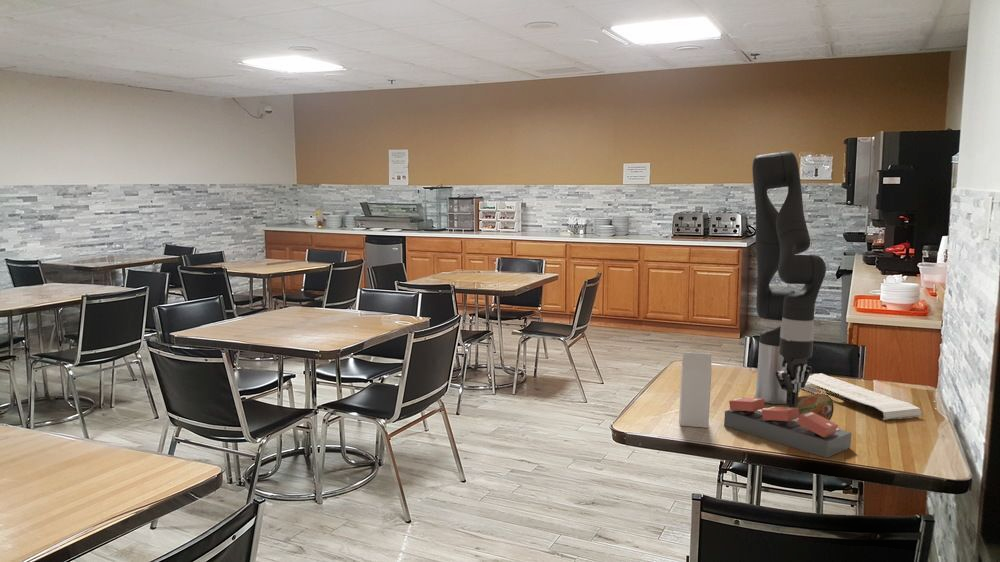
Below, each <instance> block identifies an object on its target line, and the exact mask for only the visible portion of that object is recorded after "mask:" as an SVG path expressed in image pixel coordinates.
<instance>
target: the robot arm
mask: <svg viewBox="0 0 1000 562" xmlns="http://www.w3.org/2000/svg"><path fill="white" fill-rule="evenodd" d="M751 166H752V168H751V169H752V170H751V171H752V183H753V193H754V203H755V204H754V205H755V251H756V267H757V268H756V269H757V273H756V274H757V277H756V278H757V279H756V280H757V283H756V301H755V302H756V303H755V304H756V307H755V308H756V313H757V314H756V315H757V316H758V317H759V318H760V319H764V320H769V321H771V320H772V321H777V322H778V321H780V322H781V324H780V325H779V326H778V327H776V328H771V329H768V330H763V331H761V332H760V334H759V342H758V359H757V361H758V362H757V372H756V387H755V398H761V399H764V403H765V404H770V405H771V404H772V405H784V404H785V405H786V407H789V406H790V407H795V406H797V405H798V397H799V392H801V390H802V389H801V388H804V386H805V384H806V383H807V380H808V378H809V375H810V376H811V374H812V371H813V367H812V366H810V365H808V359H810V358H812V357H813V349H814V337H815V334H814V333H815V323H814V322H815V321H814V320H815V309H816V308H815V307H816V301H817V299H818V296H819V292H820V289H821V287H822V285H823V282H824V279H825V277H826V272H827V266H826V263H825V261H824V259H823V258H822V256H820V255H816V254H803V253H804V252H806V251H808V250H809V248H810V246H811V238H810V234H809V230H808V226H807V222H806V218H805V211H804V201H803V191H802V184H801V183H802V182H801V175H800V173H801V172H800V167H799V163H798V158H797V156H796V155H795V153H793V152H792V151H781V152H779V151H778V152H773V153H764V154H759V155H756V156H755V157H754V158H753V160H752V165H751ZM780 188H787V195H786V197H785V199H784V202H783V204H782V206H781V208H780V210H779V211H778V209H776V207H775V206H774V205H773V203H772V201H771V200H770V197H769V195H768V191H769V190H772V189H780ZM776 274H778V277H779V278H780V280H781V281H782V282H783V283H785V284H788V285H803V287H802V288H801V290H799V291H797V292H796V291H795V290H793V289H786V288H772V287H770V284H771V281H772V280H773V278H774V276H775V275H776Z"/></svg>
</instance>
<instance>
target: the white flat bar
mask: <svg viewBox="0 0 1000 562" xmlns="http://www.w3.org/2000/svg"><path fill="white" fill-rule="evenodd" d="M811 384H813V385H811ZM814 385H815V386H814ZM809 386H812V387H814V388H817V389H821V388H823V389H824V390H825V389H826V390H828V391H829V392H830V391H831V392H832V393H834V394H835V393H836V394H837V395H838V394H839V396H842V397H844V398H847V399H849V400H851V401H853V402H854V401H855V402H857V403H860V404H863V405H866V406H869V407H872V408H875V409H877V410H878V411H880V412H882V415H883V418H882V419H883V420H882V421H889V420H888V419H893V420H899V419H898V418H904V419H909V418H908V417H915V418H917V417H916V416H919V417H920V416H922V411H921V408H920V407H918V406H916V405H914V404H912V403H911V402H908V401H907V402H906V401H903V400H899V399H896V398H894V397H890V396H887V395H884V394H881V393H878V392H875V391H873V390H870V389H867V388H865V387H861V386H859V385H856V384H853V383H851V382H847V381H844V380H841V379H838V378H835V377H832V376H829V375H827V374H825V373H822V372H821V373H813V374H812V375H811V374H810V375H809V378H808V380H807V382H806V384H805V386H804V388H801V390H803V389H804V391H806V392H808V391H809V392H808V393H811V392H812V393H811V394H813V393H814V392H819V393H821V391H819V390H816V389H814V388H811V387H809ZM816 386H818V387H820V388H818V387H816ZM823 389H822V390H823ZM823 393H824V392H823ZM823 393H822V394H823Z"/></svg>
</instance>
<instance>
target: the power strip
mask: <svg viewBox="0 0 1000 562" xmlns="http://www.w3.org/2000/svg"><path fill="white" fill-rule="evenodd" d="M767 408H768V407H765V408H763V409H767ZM763 409H760V410H756V411H740V410H730V409H727V410H724V421H723V426H725V427H728V428H730V429H733V430H735V431H736V430H737V431H739V432H743V433H746V434H750V435H752V436H756V437H759V438H762V439H765V440H768V441H771V442H775V443H778V444H781V445H784V446H787V447H790V448H794V449H797V450H799V451H803V452H807V453H808V454H809V453H810V454H812V455H816V456H818V455H819V457H821V456H822V457H821V458H825V459H827V458H830V456H831V457H833V456H835V454H836V455H838V454H840V453H842V452H841V451H843V452H845V451H847V450H846V449H848V448H850V449H851V441H852V432H851V431H849V430H848V431H847V430H844V429H840V428H838V427H837V429H836V432H835V434H832V435H830V436H827V437H822V436H820V435H818V434H816V433H814V432H812V431H810V430H808V429H806V428H804V427H803V426H801V425H799V424H797V423H798V420H799V418H797V419H794V420H791V421H777V420H763V417H762V410H763ZM844 450H845V451H844ZM848 450H849V449H848ZM839 452H840V453H839ZM837 453H838V454H837ZM832 455H833V456H832Z"/></svg>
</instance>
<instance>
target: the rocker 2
mask: <svg viewBox="0 0 1000 562" xmlns="http://www.w3.org/2000/svg"><path fill="white" fill-rule="evenodd" d="M766 408H767V409H763V410H762V417H763V420H777V421H791V420H794V419H797V418H799V410H798V408H791V407H789V406H786V407H785V406H771V407H766Z"/></svg>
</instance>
